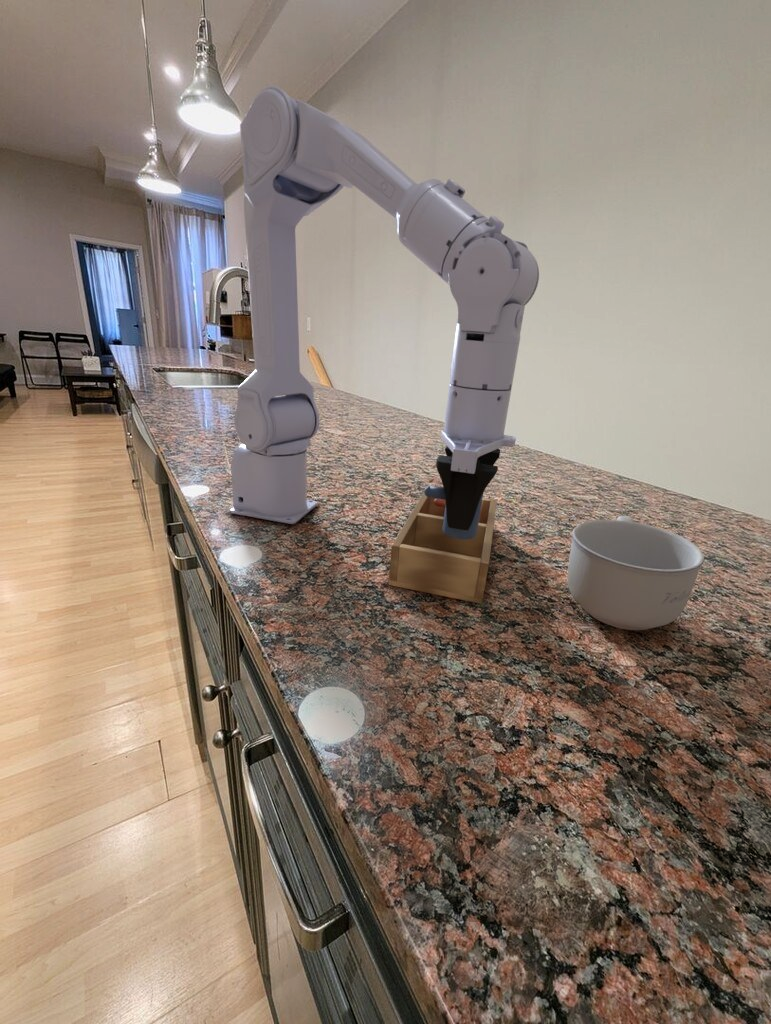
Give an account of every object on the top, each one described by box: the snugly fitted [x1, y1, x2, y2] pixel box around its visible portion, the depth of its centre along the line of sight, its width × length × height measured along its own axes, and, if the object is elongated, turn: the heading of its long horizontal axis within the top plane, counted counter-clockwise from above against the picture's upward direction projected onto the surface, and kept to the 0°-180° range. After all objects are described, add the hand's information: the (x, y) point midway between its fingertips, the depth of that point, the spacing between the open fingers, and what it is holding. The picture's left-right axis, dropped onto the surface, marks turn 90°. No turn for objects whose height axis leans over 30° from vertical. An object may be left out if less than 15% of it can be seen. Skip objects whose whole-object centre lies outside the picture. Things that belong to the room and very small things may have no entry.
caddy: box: [388, 492, 498, 605], centre depth 52 cm, size 10×18×5 cm, turn 165°
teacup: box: [566, 515, 705, 631], centre depth 44 cm, size 14×11×8 cm
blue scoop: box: [423, 485, 484, 539], centre depth 46 cm, size 6×4×5 cm, turn 75°
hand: (460, 520), depth 47 cm, fingers closed on blue scoop, 3 cm apart
